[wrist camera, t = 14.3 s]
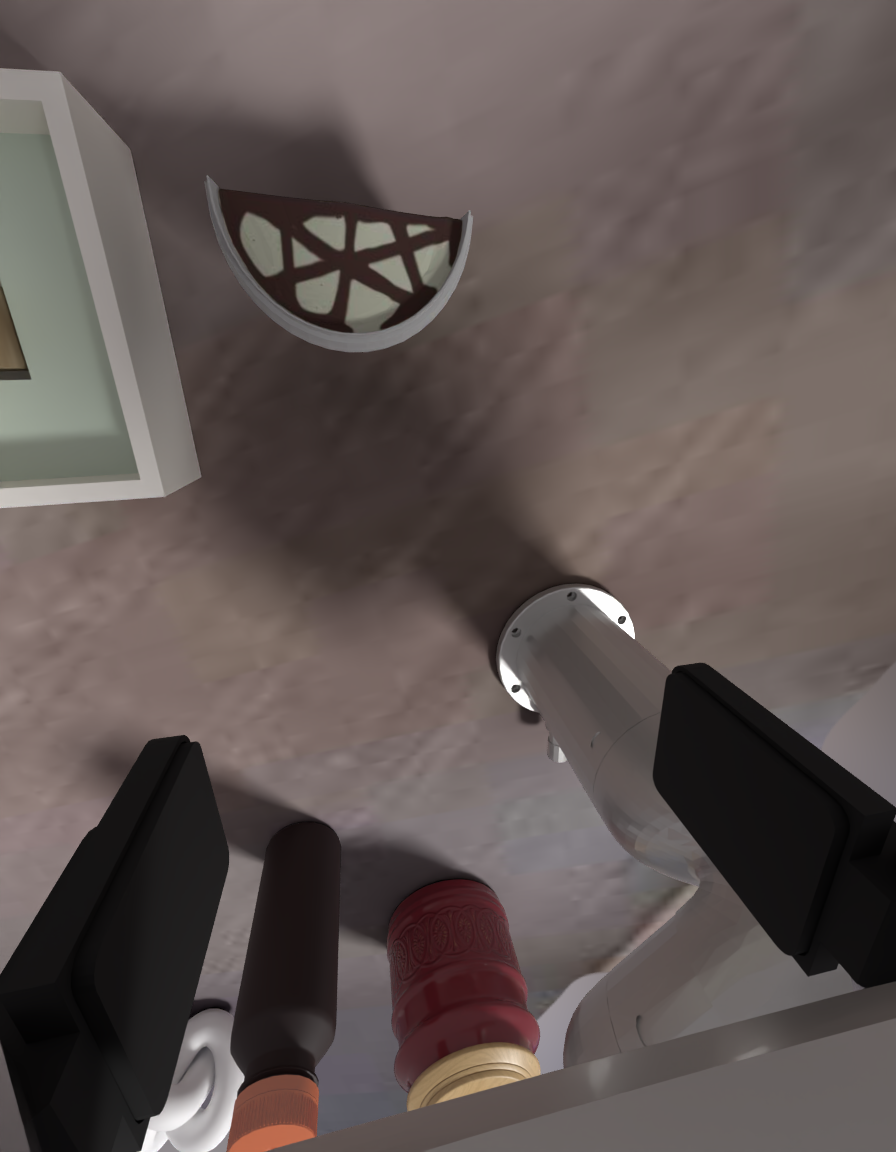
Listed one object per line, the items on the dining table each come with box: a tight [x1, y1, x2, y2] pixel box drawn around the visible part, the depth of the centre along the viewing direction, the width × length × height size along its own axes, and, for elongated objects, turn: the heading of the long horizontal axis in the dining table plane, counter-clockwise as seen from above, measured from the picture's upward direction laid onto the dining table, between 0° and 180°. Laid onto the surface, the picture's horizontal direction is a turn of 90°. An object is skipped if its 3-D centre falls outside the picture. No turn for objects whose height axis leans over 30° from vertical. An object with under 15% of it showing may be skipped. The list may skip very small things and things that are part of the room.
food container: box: [204, 175, 473, 352], centre depth 27 cm, size 12×6×10 cm, turn 87°
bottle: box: [226, 822, 341, 1152], centre depth 37 cm, size 7×7×20 cm
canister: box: [387, 879, 540, 1111], centre depth 45 cm, size 13×13×18 cm
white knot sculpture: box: [139, 1008, 245, 1152], centre depth 48 cm, size 11×12×9 cm
